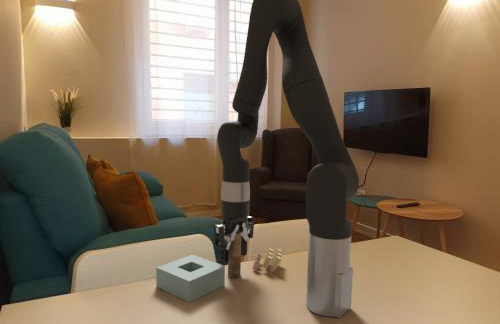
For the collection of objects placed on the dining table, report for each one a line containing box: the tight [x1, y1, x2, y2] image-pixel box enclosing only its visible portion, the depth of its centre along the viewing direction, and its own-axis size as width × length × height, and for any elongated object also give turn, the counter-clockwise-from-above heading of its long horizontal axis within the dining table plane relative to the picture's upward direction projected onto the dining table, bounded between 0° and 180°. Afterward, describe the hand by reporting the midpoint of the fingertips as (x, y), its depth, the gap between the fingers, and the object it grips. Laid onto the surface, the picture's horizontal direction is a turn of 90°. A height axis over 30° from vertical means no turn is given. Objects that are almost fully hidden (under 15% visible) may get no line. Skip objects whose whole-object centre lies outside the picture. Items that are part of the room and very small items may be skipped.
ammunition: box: [252, 247, 283, 273], centre depth 108 cm, size 5×7×8 cm
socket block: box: [155, 254, 226, 303], centre depth 95 cm, size 12×12×5 cm
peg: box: [227, 232, 242, 279], centre depth 101 cm, size 3×3×12 cm
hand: (234, 258), depth 101 cm, fingers open, 6 cm apart
